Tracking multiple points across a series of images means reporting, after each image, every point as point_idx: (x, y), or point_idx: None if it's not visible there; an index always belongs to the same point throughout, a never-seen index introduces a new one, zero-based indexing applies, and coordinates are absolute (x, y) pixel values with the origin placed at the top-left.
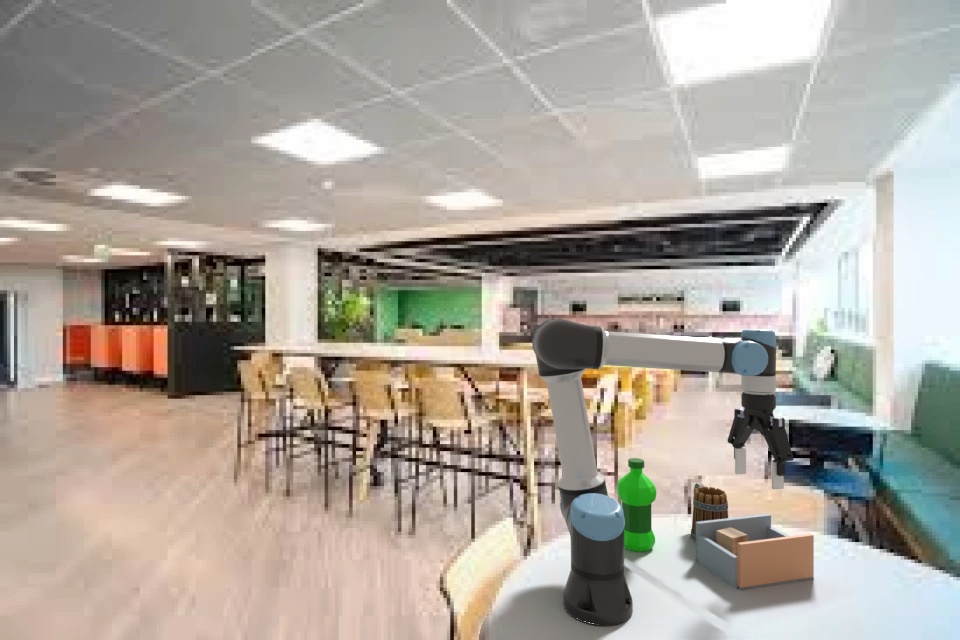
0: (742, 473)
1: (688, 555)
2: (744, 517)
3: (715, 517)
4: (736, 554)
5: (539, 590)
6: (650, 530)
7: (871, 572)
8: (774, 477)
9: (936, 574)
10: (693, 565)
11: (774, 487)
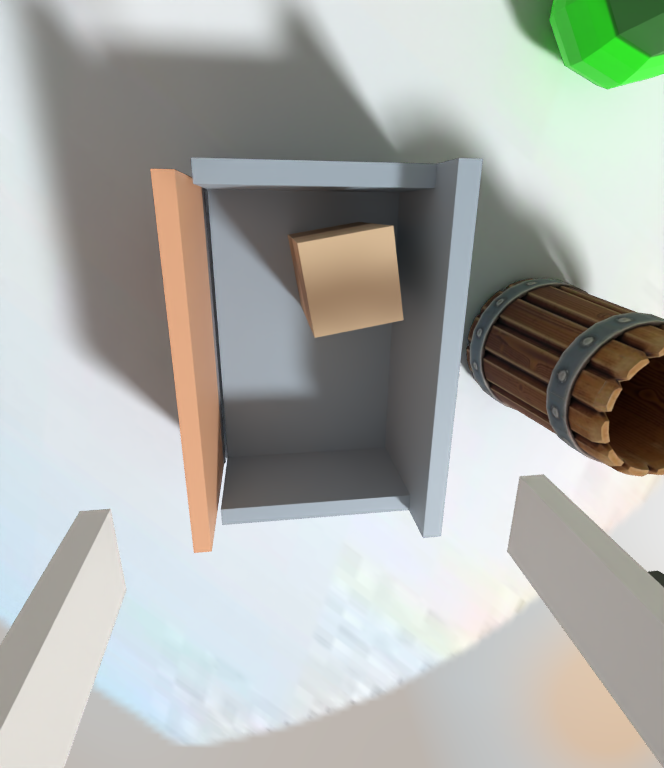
0: (513, 524)
1: (485, 206)
2: (442, 427)
3: (541, 355)
4: (295, 258)
5: None
6: (614, 23)
7: (244, 627)
8: (31, 599)
9: (206, 735)
10: None
11: (72, 525)
